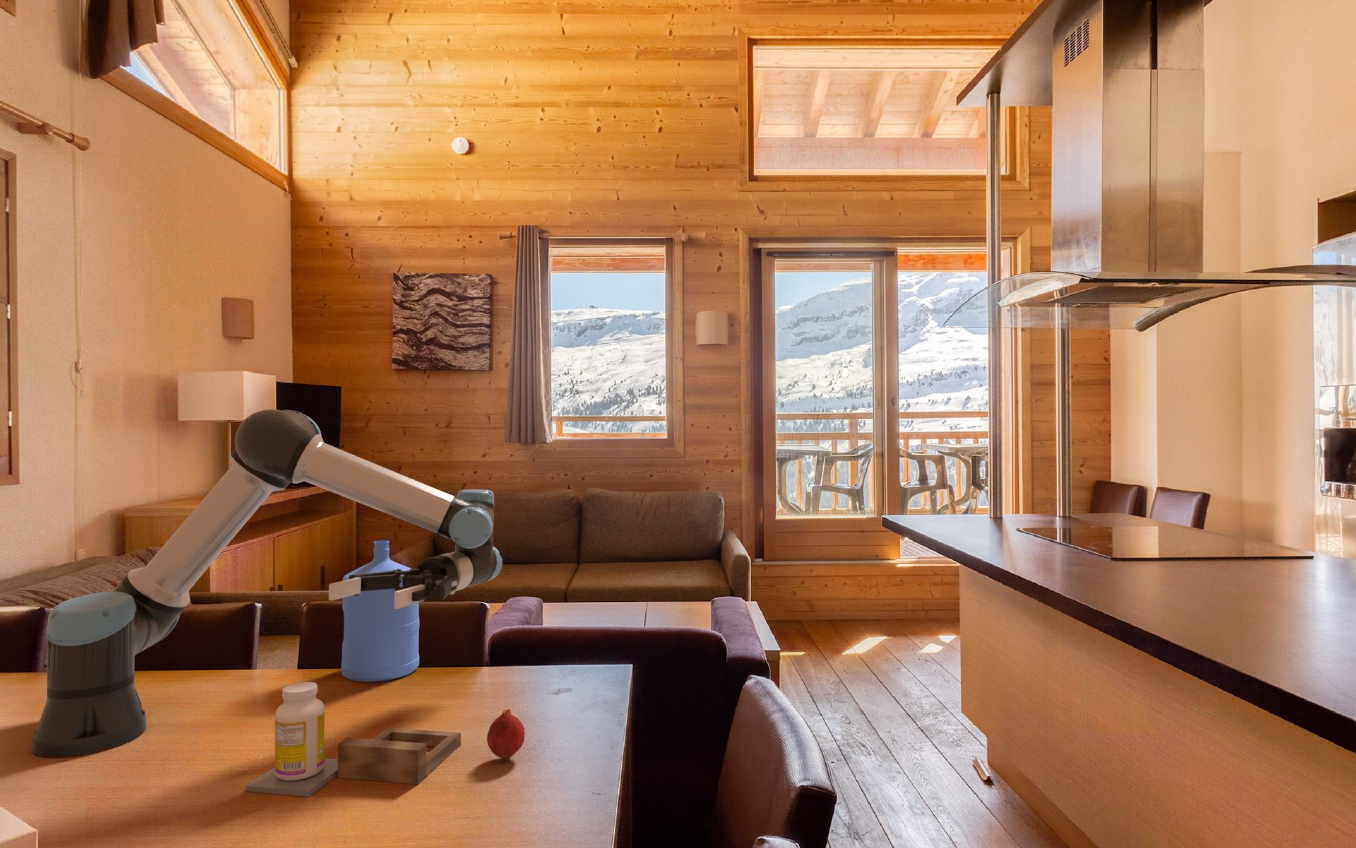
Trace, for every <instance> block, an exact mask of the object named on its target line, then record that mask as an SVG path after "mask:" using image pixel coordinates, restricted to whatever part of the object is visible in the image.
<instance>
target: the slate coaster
mask: <svg viewBox="0 0 1356 848" xmlns="http://www.w3.org/2000/svg"><path fill="white" fill-rule="evenodd" d="M336 777H338V758H325V757H324V767H323V769H322V770H321V771H320V772H319V773H317V774H316V775H313V776H311V777H308V778H305V779H302V780H296V781H285V780H281V779H279V778H277V776H276V774H275V766H274V767H273V768H272V769H270V770H269V769H268V771H266V772H265V773H264V774H262V775H260V776H259V777H257V778H256V779H253V781H250V782H249V783H247V784H246V785H245V791H246V792H251V793H262V794H273V795H275V794H276V795H285V796H295V797H306V798H309V797H311V795H313V794H314V793H315V792H317V791H319V789H322V788H323V787H324V786H325V785H327V784H328V783H329V782H330V781H332V780H333V779H335V778H336Z"/></svg>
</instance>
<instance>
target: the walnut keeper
mask: <svg viewBox="0 0 1356 848" xmlns="http://www.w3.org/2000/svg"><path fill="white" fill-rule="evenodd" d="M461 745H462V733H461V732H454V731H439V730H428V729H425V730H424V729H413V728H401V727H400V728H399V727H397V728H396V727H387V728H386V729H384V730H383V731H382V732H380V733H379V734H378V735H376V736H375V737H374V738H372V739H371V738H358V737H347V738H345V739H344V740H342V741H339V742H338V743H337V759H338V775H337V779H349V780H361V781H371V782H383V783H396V784H407V785H416V786H417V785H419V784H420V783H421V782H423V781H424V780H425V779H426V778H427V777H428V776H429V775H430V774H431V773H432V772H434V771H435V770H436V769H437V768H438V767H439V766H440V765H441V764H442V763H443V762H444V761H446V759H447V758H449V756H451V755H452V754H453V753H454V752H455V751H456V750H458V749H459V747H460V746H461ZM427 746H431V748H432V749H431V750H430V751H429V752H428V747H427ZM432 746H433V747H432Z"/></svg>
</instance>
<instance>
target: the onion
mask: <svg viewBox="0 0 1356 848" xmlns="http://www.w3.org/2000/svg"><path fill="white" fill-rule="evenodd" d="M525 735H526V731H525V726H524V724H523V722H522V721H521V720H520V719H519V718H518V717H516V716H515V715H513V714H512V709H510V708H509V707H506V708H505V709H503V711H502V713H501V714H500V716H498V717H496V718H495V719H494V720H493V721H492V722H491V724H490V726H489V728H488V731H487V736H486V742H487V746H488V747H489V749H490V752H491V753H493V754H494V755H495V756H496V757H498V758H500V759H502V760H503V761H508V760H510V759H511V758H512V757H513V756H514V755H515V754H516V753H518V751H520V749H522V747H523V744H524V743H525V738H526V736H525Z"/></svg>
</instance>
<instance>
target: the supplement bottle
mask: <svg viewBox="0 0 1356 848" xmlns="http://www.w3.org/2000/svg"><path fill="white" fill-rule="evenodd" d="M281 691H282V692H281V693H282V694H281V695H282V696H281V698H282V699H283V703H281V704H280V705H279V706H278V707H277V708H276V710H275V713H274V767H275V774H276V776H277V778H279V779H281V780H285V781H296V780H302V779H305V778H308V777H311V776H313V775H316V774H317V773H319V772H320V771H321V770H322V769H323V767H324V758H325V753H326V752H325V704H324V702H323V701H322V700H320V699H318V698H317V697H316V696H317V693H318V684H317V683H316V682H314V681H313V682H312V681H301V682H295V683H291V684H288V685H286V686H284V687H283V688H282V690H281Z"/></svg>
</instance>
